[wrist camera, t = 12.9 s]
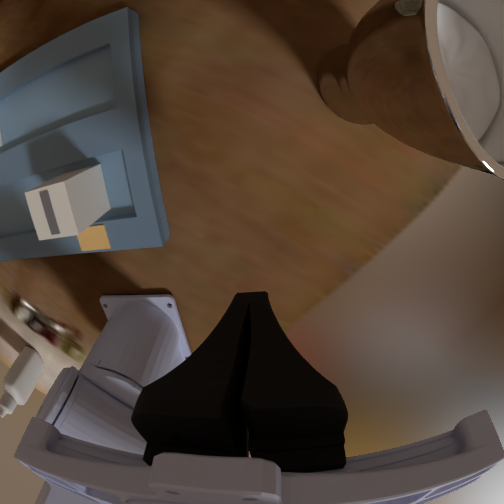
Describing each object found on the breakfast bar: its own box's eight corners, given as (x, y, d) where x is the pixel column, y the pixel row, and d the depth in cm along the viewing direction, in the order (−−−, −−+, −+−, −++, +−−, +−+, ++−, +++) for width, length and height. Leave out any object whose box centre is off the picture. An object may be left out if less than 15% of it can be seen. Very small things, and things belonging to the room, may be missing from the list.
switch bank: (170, 235, 23) (162, 247, 21) (4, 253, 25) (-7, 262, 23) (138, 13, 15) (126, 6, 13) (-30, 104, 16) (-44, 107, 15)
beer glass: (407, 128, 18) (572, 189, 5) (319, 134, 19) (433, 200, 6) (395, 40, 15) (551, -2, 2) (302, 40, 16) (380, -75, 3)
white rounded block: (22, 356, 34) (-12, 409, 23) (27, 341, 32) (-12, 400, 21) (43, 373, 35) (12, 429, 24) (49, 360, 33) (14, 422, 22)
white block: (110, 208, 21) (78, 235, 16) (72, 215, 21) (38, 241, 17) (100, 163, 19) (63, 181, 15) (62, 173, 19) (23, 193, 15)
